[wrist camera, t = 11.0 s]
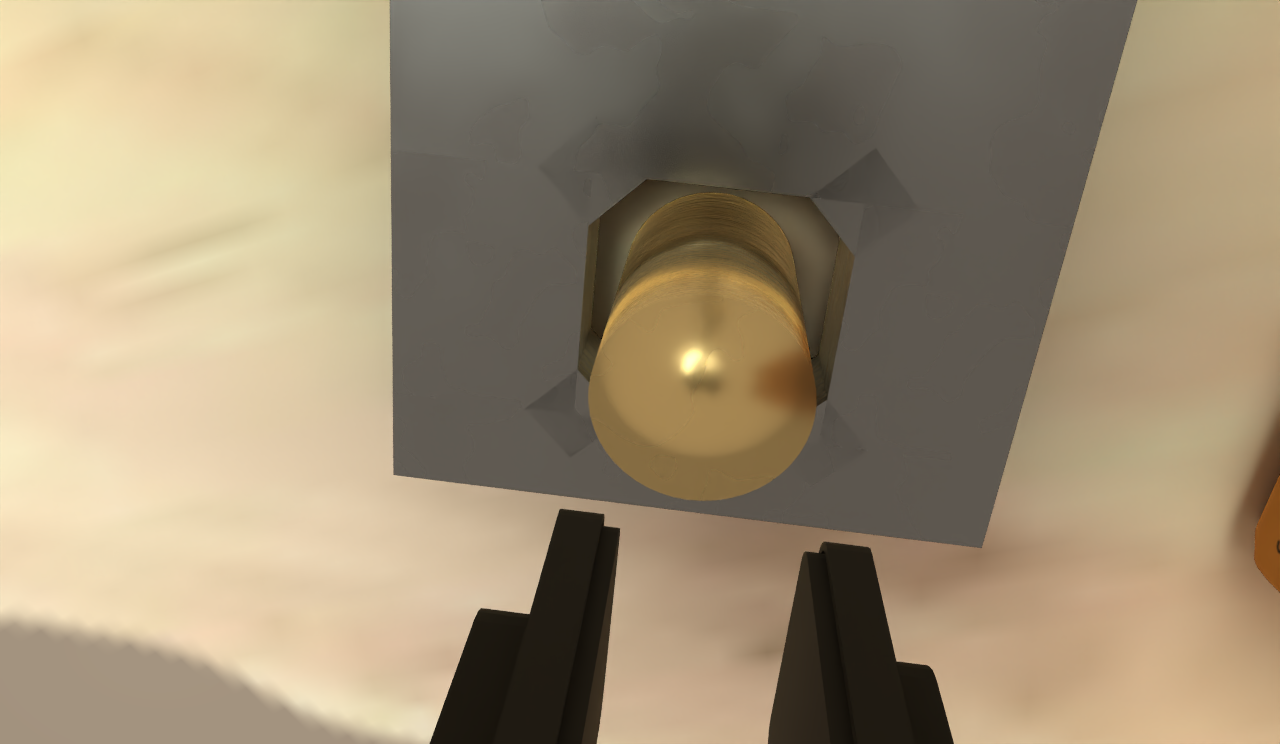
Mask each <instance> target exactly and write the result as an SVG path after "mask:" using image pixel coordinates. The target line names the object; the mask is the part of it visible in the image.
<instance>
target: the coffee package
mask: <svg viewBox="0 0 1280 744" xmlns="http://www.w3.org/2000/svg"><path fill="white" fill-rule="evenodd" d="M1254 560H1255V563H1256V565H1257V567H1258V569H1259V570H1260V571H1261V573H1262V574H1263V575H1264V576H1265V578H1266V579H1267V580H1268V581H1269V582H1270V583H1271V584H1272V585H1273V586H1274V587H1275V588H1276V589H1277V590H1278V591H1279V592H1280V475H1279V477H1278V479H1277V482H1276V484H1275V486H1274V488H1273V490H1272V492H1271V495H1270V497H1269V499H1268V502H1267V504H1266V506H1265V508H1264V510H1263V513H1262V515H1261V517H1260V519H1259V521H1258V524H1257V527H1256V530H1255V552H1254Z"/></svg>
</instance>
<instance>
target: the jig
mask: <svg viewBox="0 0 1280 744" xmlns="http://www.w3.org/2000/svg"><path fill="white" fill-rule="evenodd" d="M1136 3H1137V0H390V88H391V212H392V336H393V460H394V475H398V476H406V477H415V478H423V479H431V480H439V481H447V482H455V483H463V484H471V485H479V486H487V487H495V488H503V489H511V490H519V491H527V492H535V493H543V494H551V495H559V496H567V497H575V498H583V499H591V500H599V501H608V502H616V503H624V504H632V505H640V506H648V507H656V508H664V509H672V510H680V511H688V512H696V513H704V514H712V515H720V516H728V517H736V518H744V519H752V520H760V521H768V522H776V523H784V524H793V525H801V526H809V527H817V528H825V529H833V530H841V531H849V532H857V533H865V534H873V535H881V536H889V537H897V538H905V539H913V540H921V541H929V542H937V543H945V544H953V545H961V546H969V547H977V548H982V545H983V542H984V538H985V535H986V531H987V528H988V524H989V521H990V517H991V513H992V510H993V506H994V503H995V499H996V496H997V492H998V489H999V485H1000V482H1001V478H1002V475H1003V471H1004V468H1005V464H1006V461H1007V457H1008V454H1009V450H1010V447H1011V443H1012V440H1013V436H1014V432H1015V429H1016V425H1017V422H1018V418H1019V415H1020V411H1021V408H1022V404H1023V401H1024V397H1025V394H1026V390H1027V387H1028V383H1029V380H1030V376H1031V373H1032V369H1033V366H1034V362H1035V359H1036V355H1037V351H1038V348H1039V344H1040V341H1041V337H1042V334H1043V330H1044V327H1045V323H1046V320H1047V316H1048V313H1049V309H1050V306H1051V302H1052V299H1053V295H1054V292H1055V288H1056V285H1057V281H1058V278H1059V274H1060V270H1061V267H1062V263H1063V260H1064V256H1065V253H1066V249H1067V246H1068V242H1069V239H1070V235H1071V232H1072V228H1073V225H1074V221H1075V218H1076V214H1077V211H1078V207H1079V204H1080V200H1081V197H1082V193H1083V190H1084V186H1085V182H1086V179H1087V175H1088V172H1089V168H1090V165H1091V161H1092V158H1093V154H1094V151H1095V147H1096V144H1097V140H1098V137H1099V133H1100V130H1101V126H1102V123H1103V119H1104V116H1105V112H1106V109H1107V105H1108V101H1109V98H1110V94H1111V91H1112V87H1113V84H1114V80H1115V77H1116V73H1117V70H1118V66H1119V63H1120V59H1121V56H1122V52H1123V49H1124V45H1125V42H1126V38H1127V35H1128V31H1129V28H1130V24H1131V20H1132V17H1133V13H1134V10H1135V6H1136ZM646 179H652V180H661V181H670V182H679V183H687V184H696V185H705V186H714V187H723V188H731V189H740V190H749V191H758V192H766V193H775V194H784V195H793V196H802V197H810V199H811V200H812V201H813V203H814V204H815V205H816V206H817V208H818V209H819V210H820V212H821V213H822V214H823V216H824V217H825V218H826V220H827V221H828V222H829V223H830V225H831V226H832V227H833V229H834V230H835V231H836V233H837V234H838V235H839V237H840V239H839V245H838V250H837V256H836V261H835V266H834V272H833V277H832V283H831V288H830V294H829V299H828V304H827V310H826V315H825V321H824V326H823V331H822V337H821V342H820V348H819V353H818V356H816V357H815V358H813V359H812V360H811V363H812V369H813V374H814V380H815V386H816V399H817V405H816V414H815V419H814V423H813V427H812V430H811V433H810V435H809V437H808V440H807V442H806V444H805V445H804V447H803V449H802V450H801V452H800V454H799V455H798V456H797V458H796V459H795V460H794V461H793V462H792V464H791V465H790V466H789V467H788V468H787V469H786V470H785V471H783V472H782V473H781V474H780V475H779V476H777V477H776V478H775V479H773V480H772V481H771V482H769V483H767V484H766V485H764V486H762V487H760V488H758V489H756V490H754V491H751V492H749V493H746V494H744V495H740V496H737V497H733V498H728V499H722V500H713V501H696V500H686V499H681V498H675V497H671V496H668V495H665V494H662V493H659V492H657V491H654V490H652V489H650V488H648V487H646V486H644V485H642V484H641V483H639V482H637V481H636V480H634V479H633V478H632V477H630V476H629V475H628V474H626V473H625V472H624V471H623V470H622V469H621V468H620V467H619V466H618V465H617V464H616V463H615V462H614V461H613V460H612V459H611V457H610V456H609V455H608V454H607V452H606V451H605V449H604V448H603V446H602V444H601V443H600V441H599V439H598V437H597V435H596V432H595V430H594V427H593V424H592V420H591V417H590V411H589V403H588V389H589V382H590V376H591V372H592V369H593V366H594V363H595V360H596V356H597V353H598V350H599V347H600V344H601V341H602V340H601V339H600V338H599V336H598V335H597V334H596V333H595V332H594V331H593V330H592V329H591V323H592V311H593V299H594V286H595V274H596V262H597V249H598V237H599V225H600V216H601V215H603V214H604V213H605V212H606V211H608V210H609V209H610V208H611V207H613V206H614V205H615V204H616V203H618V202H619V201H620V200H621V199H623V198H624V197H625V196H626V195H628V194H629V193H630V192H631V191H633V190H634V189H635V188H636V187H638V186H639V185H640V184H641V183H643V182H644V181H645V180H646Z"/></svg>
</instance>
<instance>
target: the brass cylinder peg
mask: <svg viewBox="0 0 1280 744" xmlns="http://www.w3.org/2000/svg"><path fill="white" fill-rule="evenodd" d="M588 403H589V411H590V417H591V420H592V424H593V427H594V430H595V432H596V435H597V437H598V439H599V441H600V443H601V444H602V446H603V448H604V449H605V451H606V452H607V454H608V455H609V456H610V457H611V459H612V460H613V461H614V462H615V463H616V464H617V465H618V466H619V467H620V468H621V469H622V470H623V471H624V472H625V473H626V474H628V475H629V476H630V477H632V478H633V479H634V480H636V481H637V482H639V483H641V484H642V485H644V486H646V487H648V488H650V489H652V490H654V491H657V492H659V493H662V494H665V495H668V496H671V497H675V498H681V499H686V500H696V501H713V500H722V499H728V498H733V497H737V496H740V495H744V494H746V493H749V492H751V491H754V490H756V489H758V488H760V487H762V486H764V485H766V484H767V483H769V482H771V481H772V480H773V479H775V478H776V477H777V476H779V475H780V474H781V473H782V472H783V471H785V470H786V469H787V468H788V467H789V466H790V465H791V464H792V462H793V461H794V460H795V459H796V458H797V456H798V455H799V454H800V452H801V450H802V449H803V447H804V445H805V444H806V442H807V440H808V437H809V435H810V433H811V430H812V427H813V423H814V419H815V414H816V405H817V399H816V386H815V380H814V374H813V369H812V363H811V357H810V351H809V346H808V340H807V334H806V328H805V323H804V317H803V311H802V305H801V300H800V294H799V288H798V283H797V277H796V271H795V265H794V260H793V254H792V251H791V248H790V245H789V242H788V240H787V238H786V236H785V234H784V232H783V231H782V229H781V228H780V226H779V225H778V224H777V223H776V222H775V220H774V219H773V218H772V217H771V216H770V215H769V214H768V213H766V212H765V211H764V210H763V209H761V208H760V207H758V206H757V205H755V204H754V203H752V202H750V201H748V200H745V199H743V198H740V197H737V196H734V195H730V194H725V193H716V192H705V193H696V194H691V195H687V196H684V197H681V198H678V199H676V200H674V201H672V202H670V203H668V204H666V205H664V206H663V207H661V208H660V209H658V210H657V211H656V212H655V213H654V214H653V215H651V216H650V217H649V218H648V219H647V221H646V222H645V223H644V224H643V225H642V227H641V228H640V230H639V231H638V233H637V234H636V236H635V238H634V241H633V243H632V245H631V248H630V251H629V255H628V258H627V261H626V264H625V267H624V270H623V274H622V277H621V280H620V283H619V286H618V290H617V293H616V296H615V299H614V302H613V306H612V309H611V312H610V315H609V318H608V321H607V325H606V328H605V331H604V334H603V337H602V341H601V344H600V347H599V350H598V353H597V356H596V360H595V363H594V366H593V369H592V372H591V376H590V382H589V389H588Z"/></svg>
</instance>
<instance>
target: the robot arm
mask: <svg viewBox="0 0 1280 744" xmlns="http://www.w3.org/2000/svg"><path fill="white" fill-rule="evenodd" d="M619 537H620V528H614V527H606V526H604V514H598V513H590V512H582V511H574V510H566V509H560V510H559V513H558V516H557V520H556V523H555V527H554V530H553V534H552V537H551V541H550V545H549V548H548V552H547V555H546V559H545V562H544V566H543V569H542V573H541V576H540V580H539V583H538V587H537V590H536V594H535V597H534V601H533V605H532V608H531V612H530V614H522V613H514V612H507V611H499V610H491V609H483V608H481V609H480V610H479V611H478V613H477V615H476V617H475V619H474V622H473V625H472V628H471V630H470V633H469V636H468V639H467V641H466V644H465V647H464V650H463V653H462V655H461V658H460V661H459V664H458V666H457V669H456V672H455V675H454V678H453V680H452V683H451V686H450V689H449V691H448V694H447V697H446V700H445V703H444V705H443V708H442V711H441V714H440V716H439V719H438V722H437V725H436V728H435V730H434V733H433V736H432V739H431V742H430V744H597V737H598V731H599V724H600V717H601V709H602V701H603V692H604V682H605V672H606V663H607V653H608V643H609V634H610V624H611V614H612V605H613V595H614V585H615V576H616V566H617V556H618V546H619ZM768 744H954V743H953V739H952V735H951V732H950V728H949V724H948V721H947V717H946V713H945V709H944V706H943V702H942V698H941V695H940V691H939V687H938V684H937V680H936V677H935V675H934V672H933V670H932V669H931V668H930V667H929V666H927V665H920V664H912V663H904V662H896V658H895V654H894V649H893V645H892V640H891V636H890V632H889V627H888V623H887V618H886V614H885V609H884V605H883V600H882V596H881V592H880V587H879V583H878V578H877V574H876V569H875V565H874V561H873V556H872V552H871V550H870V548H868V547H863V546H855V545H846V544H838V543H830V542H823V543H822V545H821V547H820V550H819V553H814V552H806V551H805V552H804V554H803V557H802V561H801V566H800V571H799V576H798V581H797V586H796V591H795V597H794V602H793V607H792V612H791V617H790V622H789V627H788V632H787V637H786V643H785V648H784V653H783V658H782V663H781V668H780V673H779V678H778V683H777V689H776V694H775V699H774V704H773V709H772V714H771V720H770V726H769V737H768Z"/></svg>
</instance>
